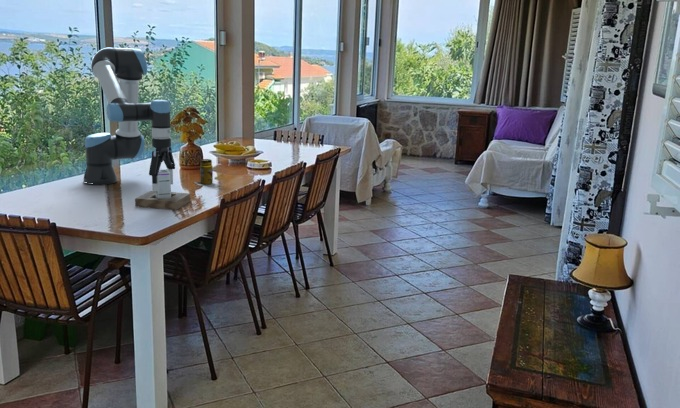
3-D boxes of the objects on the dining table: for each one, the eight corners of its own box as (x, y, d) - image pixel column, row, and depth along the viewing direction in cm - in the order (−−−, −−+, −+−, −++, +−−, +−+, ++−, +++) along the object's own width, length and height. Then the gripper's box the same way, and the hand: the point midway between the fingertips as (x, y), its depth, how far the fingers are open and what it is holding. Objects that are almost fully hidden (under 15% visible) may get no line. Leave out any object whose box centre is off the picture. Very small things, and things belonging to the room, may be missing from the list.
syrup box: (171, 205, 253) (170, 171, 249) (157, 206, 250) (156, 172, 246) (169, 201, 257) (168, 169, 254) (155, 202, 255) (154, 169, 251)
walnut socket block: (135, 206, 248) (135, 198, 247) (151, 198, 262) (151, 190, 261) (176, 209, 245) (176, 201, 245) (190, 201, 260) (190, 193, 259)
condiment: (215, 184, 294) (215, 160, 291) (199, 185, 290) (198, 161, 287) (210, 181, 300) (209, 158, 297) (193, 182, 296) (193, 159, 293)
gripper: (156, 142, 234) (158, 194, 240) (182, 134, 258) (183, 182, 264) (138, 141, 235) (140, 193, 241) (165, 133, 259) (167, 180, 265)
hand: (163, 187), depth 252 cm, fingers open, 13 cm apart
